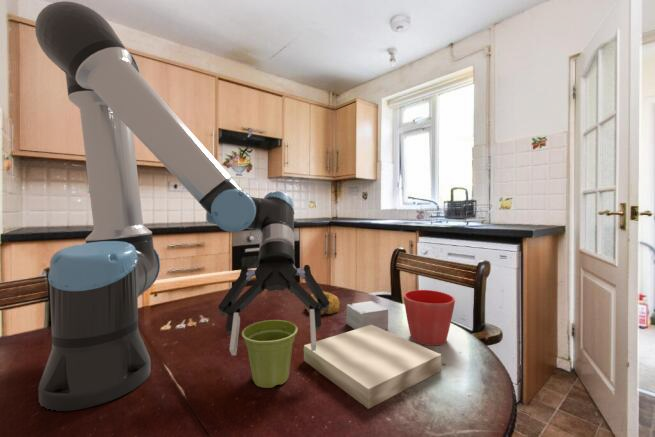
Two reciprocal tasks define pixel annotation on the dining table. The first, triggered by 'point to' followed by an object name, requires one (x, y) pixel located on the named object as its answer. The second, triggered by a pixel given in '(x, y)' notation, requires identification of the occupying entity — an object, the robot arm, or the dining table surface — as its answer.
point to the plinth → (372, 363)
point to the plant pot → (270, 351)
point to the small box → (367, 315)
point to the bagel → (332, 303)
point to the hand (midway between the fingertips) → (273, 350)
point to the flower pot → (429, 315)
